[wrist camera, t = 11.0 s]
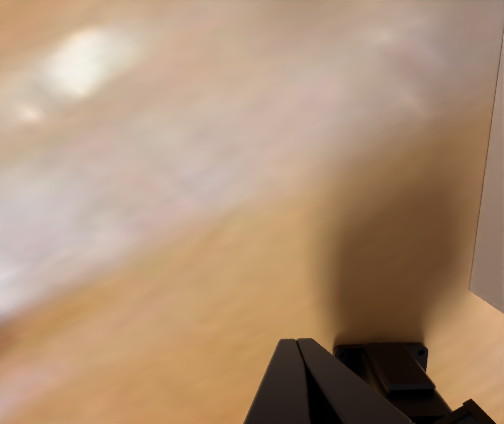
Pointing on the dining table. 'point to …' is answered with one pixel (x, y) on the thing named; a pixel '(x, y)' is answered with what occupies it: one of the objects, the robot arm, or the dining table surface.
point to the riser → (492, 211)
